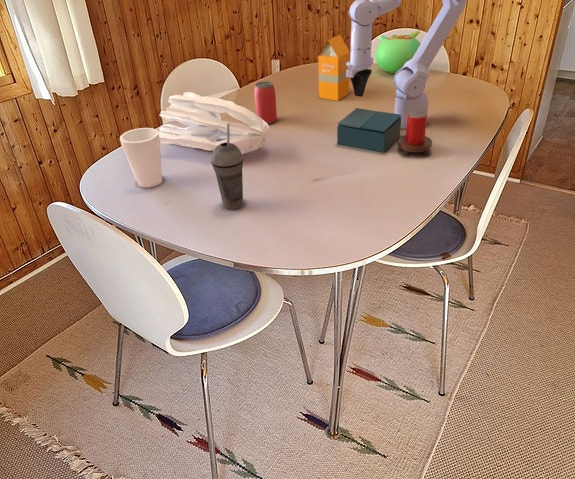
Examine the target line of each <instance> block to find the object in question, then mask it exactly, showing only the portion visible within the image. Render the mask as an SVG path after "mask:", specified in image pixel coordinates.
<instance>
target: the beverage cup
mask: <svg viewBox="0 0 575 479" xmlns="http://www.w3.org/2000/svg"><path fill="white" fill-rule="evenodd" d="M210 162H211V166H212V168H213V170H214V173H215V176H216V180H217V184H218V188H219V193H220V198H221V201H222V204H223V207H224V208H225V209H226V210H231V211H232V210H237V209H240V208H242V207H243V204H244V202H243V200H244V187H243V185H244V184H243V183H244V182H243V168H244V157H243V154H241V151H240V149H239V148H238V147H237V146H236V145H234V144H232V143H229V124H227V142H225V143H221V144H219V145H218V146H217V147H216V148H215V149H214V151H213V150H212V153H211V161H210Z"/></svg>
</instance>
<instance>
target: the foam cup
mask: <svg viewBox="0 0 575 479" xmlns="http://www.w3.org/2000/svg"><path fill="white" fill-rule="evenodd" d="M158 132H159V130H157V129H156V128H152V127H138V128H133V129H130V130H128V131H126V132H123V133H122V134H121V135H119V136H120V137H119V141H120V145H121V148H122V150H123V151H124V154H125V156H126V158H127V161H128V163H129V166H130V169H131V170H132V173H133V175H134V178H135V181H136V183H137V185H138V186H139V187H140V188H145V189H146V188H153V187H157V186H159V185H161V183H162V182H163V171H162V157H161V144H160V138H159V133H158Z"/></svg>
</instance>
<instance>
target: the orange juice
mask: <svg viewBox="0 0 575 479" xmlns="http://www.w3.org/2000/svg"><path fill="white" fill-rule="evenodd" d="M350 52H351V50H349V48H348V46H347V44H346V43H345V40H344V39H343V36H342V35H341V33H339V34H337V35H335V36H332V37H331V38H328V40H327V41H326V42H325V44H324V46H323V47H322V49H321V51H320V52H319V53H318V55H317V57H318V98H319V99H323V100H324V99H325V100H330V101H331V100H332V101H337V102H338V101H340V100H341V99H342V98H344V97H346V96H347V95H348V94H350V78H349V77H346V70H347V69H348V67H349V66H347V65H346V63H347V62H349V61H350Z"/></svg>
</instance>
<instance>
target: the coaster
mask: <svg viewBox="0 0 575 479" xmlns="http://www.w3.org/2000/svg"><path fill="white" fill-rule="evenodd" d="M405 140H406V134H405V135H402V136H399V137H398V138H397V146H398V148H399V149H401V150H403V155H404V156H409V153H410V152H411V153H422V154H423V155H427V154H428V151H429V150H430V149H431V148H432V147H433V140H432V139H431V138H430V137H429V136H426V135H425V141H424V143H422V144H419V145H413V144H409V143H407V142H406V141H405Z"/></svg>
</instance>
